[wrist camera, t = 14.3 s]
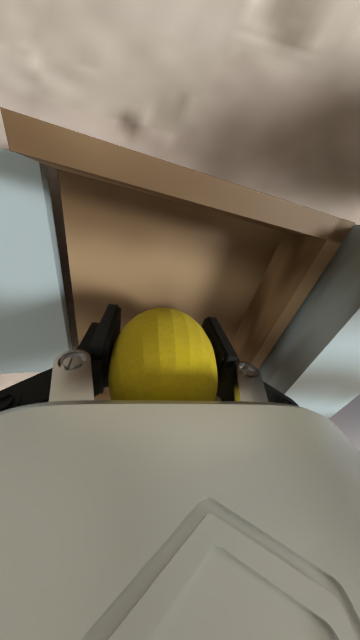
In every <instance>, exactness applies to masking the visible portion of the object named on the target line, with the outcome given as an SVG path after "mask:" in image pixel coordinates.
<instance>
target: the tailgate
mask: <svg viewBox="0 0 360 640" xmlns="http://www.w3.org/2000/svg"><path fill="white" fill-rule="evenodd" d="M69 350H73V347H72V340H71V333H70V326H69V319H68V312H67V305H66V299H65V292H64V285H63V278H62V271H61V264H60V257H59V250H58V243H57V236H56V229H55V222H54V216H53V209H52V202H51V195H50V188H49V181H48V174H47V167H46V165H45V164H43V163H40V162H38V161H35V160H33V159H30V158H28V157H25V156H23V155H20V154H18V153H15V152H12V151H8V150H5V149H1V148H0V374H3V373H24V372H44V371H46V370H49V369H51V368H53V363H54V360H55V359H56V357H57V356H58V355H60V354H61V353H63V352H66V351H69Z"/></svg>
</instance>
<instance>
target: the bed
mask: <svg viewBox="0 0 360 640" xmlns="http://www.w3.org/2000/svg"><path fill="white" fill-rule="evenodd" d="M0 109H1V113H2V118H3V122H4V127H5V132H6V136H7V141H8V145H9V150H11V151H13V152H15V153H18V154H20V155H23V156H25V157H28V158H30V159H33V160H35V161H38V162H40V163H43V164H45V165H48V166H50V167H53V168H55V169H57V170H58V175H59V183H60V192H61V200H62V209H63V217H64V226H65V234H66V242H67V251H68V259H69V268H70V276H71V284H72V293H73V301H74V310H75V318H76V327H77V335H78V343H79V345H80V343H81V341H82V339H83V337H84V336H85V334H86V332H87V330H88V328H89V327H90V325H91V323H92V322H96V323H100V321H101V319H102V317H103V315H104V313H105V311H106V308H107V306H108V304H115V305H118V307H121V329H120V333H121V331H122V330H123V328H124V327H125V325H126V324H127V323H128V322H129V321H131V320H132V319H133V318H134V317H135V316H137V315H138V314H140V313H142V312H145V311H147V310H150V309H155V308H171V309H176V310H180V311H182V312H184V313H186V314H188V315H189V316H191V317H192V318H193V319H194V320H195V321H196V322H197V323H198V324H199V325H200V326H201V327H202V324H203V321H204V319H205V318H207V317H216V318H217V320H218V322H219V324H220V325H221V327H222V329H223V331H224V332H225V334H226V336H227V338H228V340H229V341H230V343H231V345H232V347H233V348H234V350H235V352H236V354H237V355H238V359H239V360H240V361H246V362H249V363H251V364H253V365H254V366H256V367H257V368H258V370H259V371H260V373H261V376H262V380H263V381H264V382H265V383H267V384H269V385H270V386H272V387H273V388H275V389H277V390H278V391H280V392H281V393H283V394H285V395H286V396H288V397H289V398H291V399H292V400H293V401H295V402H296V403H297V404H298V405H299V407H303V408H306V409H309V410H311V411H314V412H316V413H318V414H320V415H322V416H324V417H326V418H327V419H329V418H330V417H331V416H332V415H334V414H335V413H336V412H338V411H339V410H340V409H341V408H343V407H344V406H345V405H346V404H348V403H349V402H350V401H351V400H353V399H354V398H355V397H356V396H357V395H359V394H360V225H355V223H354V222H351V221H348V220H345V219H341V218H338V217H335V216H332V215H329V214H326V213H323V212H320V211H317V210H314V209H311V208H308V207H305V206H302V205H299V204H296V203H292V202H289V201H286V200H283V199H280V198H277V197H274V196H271V195H268V194H265V193H262V192H259V191H256V190H253V189H250V188H246V187H243V186H240V185H237V184H234V183H231V182H228V181H225V180H222V179H219V178H216V177H213V176H210V175H207V174H204V173H201V172H197V171H194V170H191V169H188V168H185V167H182V166H179V165H176V164H173V163H170V162H167V161H164V160H161V159H158V158H155V157H152V156H148V155H145V154H142V153H139V152H136V151H133V150H130V149H127V148H124V147H121V146H118V145H115V144H112V143H109V142H106V141H102V140H99V139H96V138H93V137H90V136H87V135H84V134H81V133H78V132H75V131H72V130H69V129H66V128H63V127H60V126H57V125H53V124H50V123H47V122H44V121H41V120H38V119H35V118H32V117H29V116H26V115H23V114H20V113H17V112H14V111H11V110H7V109H4V108H1V107H0ZM94 400H111V398H110V391H109V386H108V387H105V388H104V392H103V393H100V394H98V395H97V396H95V397H94ZM215 401H218V396H216V398H215Z"/></svg>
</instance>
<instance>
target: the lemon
mask: <svg viewBox="0 0 360 640" xmlns="http://www.w3.org/2000/svg"><path fill="white" fill-rule="evenodd" d="M108 382H109V391H110V398H111V400H172V401H215V398H216V393H217V387H218V372H217V365H216V359H215V354H214V350H213V347H212V344H211V342H210V340H209V338H208V337H207V335H206V333H205V332H204V330H203V328H202V327H201V326H200V325H199V324H198V323H197V322H196V321H195V320H194V319H193V318H192V317H191V316H189V315H188V314H186V313H184V312H182V311H180V310H176V309H171V308H155V309H150V310H147V311H145V312H142V313H140V314H138V315H137V316H135V317H134V318H133V319H132V320H131V321H129V322H128V323H127V324H126V325H125V327H124V328H123V330H122V331H121V333H120V334H119V336H118V337H117V339H116V341H115V343H114V346H113V350H112V354H111V358H110V362H109V369H108Z"/></svg>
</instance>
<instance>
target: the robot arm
mask: <svg viewBox="0 0 360 640" xmlns="http://www.w3.org/2000/svg"><path fill="white" fill-rule="evenodd" d="M202 328H203V330H204V332H205V333H206V335H207V337H208V338H209V340H210V342H211V344H212V347H213V350H214V354H215V359H216V365H217V372H218V387H217V393H216V396H218V401H172V400H94V397H95V396H97V395H98V394H100V393H103V392H104V388H105V387H108V386H109V382H108V369H109V362H110V358H111V354H112V350H113V346H114V343H115V341H116V339H117V337H118V336H119V334H120V329H121V307H118V305H115V304H108V306H107V308H106V311H105V313H104V315H103V317H102V319H101V321H100V323H96V322H92V323H91V325H90V327H89V328H88V330H87V332H86V334H85V336H84V337H83V339H82V341H81V343H80V345H79V346H78V348H77V349H75V350H69V351H66V352H63V353H61V354H60V355H58V356H57V357H56V359H55V360H54V363H53V368H51V369H49V370H46V371H44V372H42V373H40V374H37V375H35V376H33V377H31V378H28V379H26V380H24V381H21V382H19V383H17V384H15V385H12V386H10V387H8V388H6V389H3V390H1V391H0V640H360V451H359V450H358V449H357V447H356V446H355V445H354V444H353V443H352V442H351V441H350V440H349V438H348V437H347V436H346V435H345V434H344V433H343V432H342V431H341V430H340V429H339V428H338V427H337V426H336V425H335V424H334V423H333V422H332V421H330V420H329V419H327V418H326V417H324V416H322V415H320V414H318V413H316V412H314V411H311V410H309V409H306V408H303V407H299V405H298V404H297V403H296V402H295V401H293V400H292V399H291V398H289V397H288V396H286V395H285V394H283V393H281V392H280V391H278V390H277V389H275V388H273V387H272V386H270V385H269V384H267V383H265V382H264V381H263V380H262V376H261V373H260V371H259V370H258V368H257V367H256V366H254V365H253V364H251V363H249V362H246V361H240V360H239V359H238V355H237V354H236V352H235V350H234V348H233V347H232V345H231V343H230V341H229V340H228V338H227V336H226V334H225V332H224V331H223V329H222V327H221V325H220V324H219V322H218V320H217V318H216V317H207V318H205V319H204V321H203V324H202Z"/></svg>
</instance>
